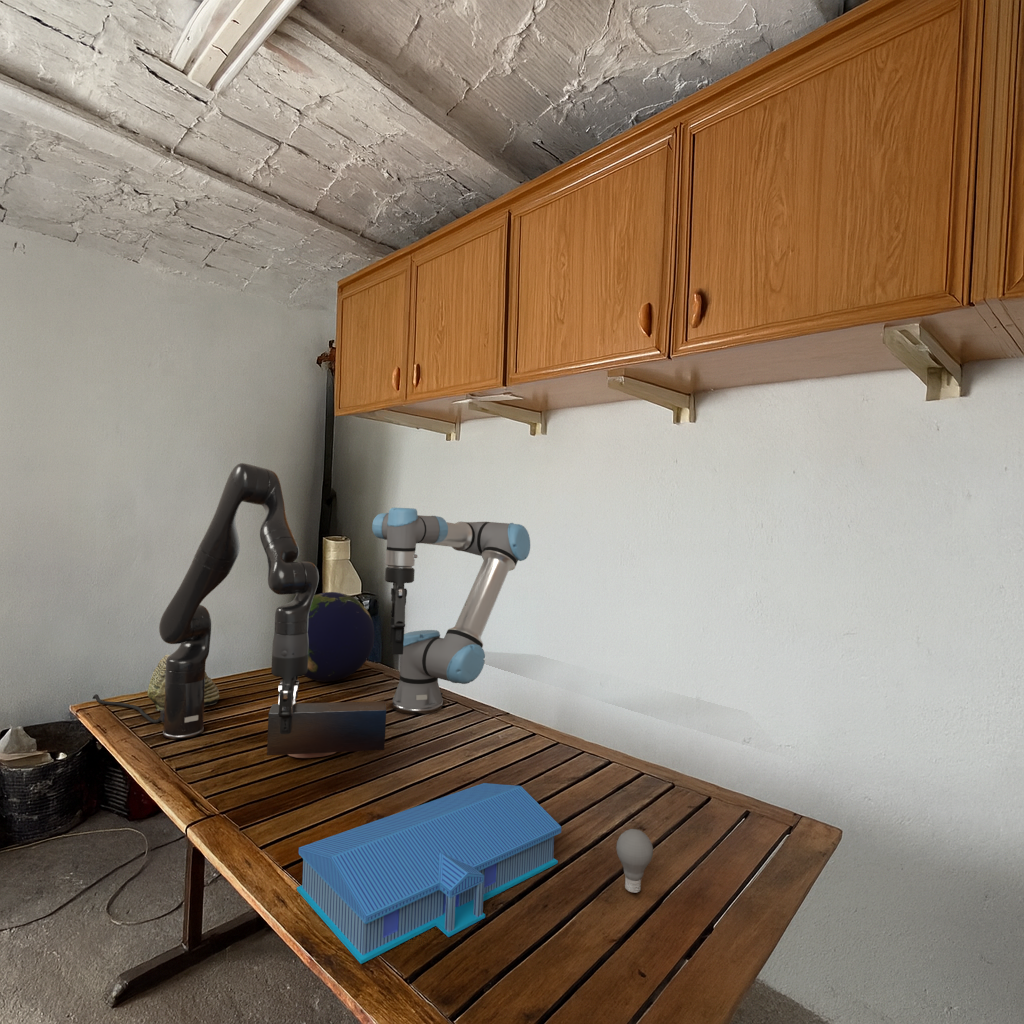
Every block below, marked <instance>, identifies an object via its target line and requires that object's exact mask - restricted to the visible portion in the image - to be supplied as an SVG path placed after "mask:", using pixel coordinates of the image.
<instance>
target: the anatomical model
mask: <svg viewBox="0 0 1024 1024" xmlns="http://www.w3.org/2000/svg"><path fill="white" fill-rule="evenodd" d="M336 753H337V752H331V753H309V754H286V755H287V756H289V757H292V758H296V759H311V758H312V759H313V758H321V757H326V756H330V755H334V754H336Z"/></svg>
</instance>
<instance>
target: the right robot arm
mask: <svg viewBox="0 0 1024 1024" xmlns="http://www.w3.org/2000/svg"><path fill="white" fill-rule="evenodd" d="M371 530H372V533H373V535H374V536H375V537H376V538H378V539H380V540H384V541H386V549H385V563H384V565H386V567H385V570H384V581H385V582H387V583H389V584H392V587H391V588H390V595H391V597H390V598H391V610H390V617H391V618H390V631H389V634H390V635H389V643H391V655H399V679H398V680H399V681H398V684H397V687H396V690H395V693H394V695H393V697H392V705H391V706H392V709H393V710H394V711H395V712H398V713H401V714H406V715H415V716H416V715H417V716H418V715H428V714H433V713H437V712H439V711H441V710H442V709H443V705H444V699H443V694H444V693H443V692H441V688H440V684H439V679H440V680H444V681H447V682H450V683H453V684H462V685H466V684H467V685H468V684H470V683H472V682H475V680H476V679H477V678H478V677H479V676H480V674H481V673H482V671H483V668H484V666H485V661H486V660H485V658H486V654H485V650H484V648H483V647H484V643H483V640H482V636H483V634H484V631H485V629H486V626H487V624H488V622H489V619H490V617H491V614H492V612H493V610H494V607H495V605H496V602H497V600H498V597H499V595H500V593H501V591H502V588H503V585H504V583H505V581H506V578H507V576H508V573H509V572H511V571H513V570H515V569H516V566H517V564H518V562H523V561H525V560H526V559H528V556H529V555H530V553H531V538H530V534H529V531H528V529H527V527H525V526H524V525H522V524H520V523H514V522H509V523H508V522H497V521H495V522H494V521H457V522H454V523H453V522H447V520H445V518H444V517H441V516H438V515H419V514H418V509H416V508H411V507H391V508H390V509H389V510H388V512H382V513H378V514H377V515H376V516H375V517H374V518H373V521H372V526H371ZM417 544H424V545H433V546H441V547H451V548H452V549H453V550H455V551H458V552H464V553H468V554H472V555H476V556H480V557H481V558H482V563H481V565H480V568H479V571H478V572H477V575H476V577H475V579H474V582H473V584H472V586H471V589H470V590H469V593H468V596H467V598H466V600H465V601H464V605H463V607H462V609H461V611H460V613H459V616H458V617H457V620H456V622H455V625H454V626H453V627H451V628H450V627H449V628H448V629H447V630H446V633H445V635H444V637H441V634H440V631H439V630H436V629H423V630H414V631H413V630H412V631H409V632H406V633H405V627H406V605H407V596H408V589H407V588H406V587H405V584H411V583H414V581H415V568H414V566H415V565H416V559H418V554H416V550H417Z"/></svg>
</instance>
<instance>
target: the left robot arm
mask: <svg viewBox="0 0 1024 1024" xmlns="http://www.w3.org/2000/svg"><path fill="white" fill-rule="evenodd" d="M243 502H244V503H248V504H251V505H252V504H253V505H256V506H257V505H258V506H261V507H262V508H263V509H264V511H265V513H266V515H265V516H264V519H263V521H262V523H261V525H260V528H259V538H260V543H261V545H262V548H263V551H264V553H265V556H266V561H267V585H268V588H269V589H270V590H271V592H272V593H274V594H276V595H278V596H279V595H280V596H281V595H295V597H294V598H293V600H292V601H290V602H287V603H284V604H281V605H279V606H277V607H276V609H275V611H274V629H273V632H274V633H273V639H272V646H271V647H272V649H271V671H270V673H271V674H272V675H273V676H274V677H277V678H281V679H282V680H280V681H279V683H278V703H277V704H279V713H278V715H279V717H281V719H280V733H281V734H290V733H291V721H292V715H293V712H292V710H293V706H294V705H295V704H297V699H298V695H299V687H300V680H299V679H298V678H299V677H303V676H304V674H306V673H307V670H308V647H309V639H308V619H309V611H310V607H311V604H312V600H313V597H314V595H316V591H317V588H318V585H319V580H320V575H319V569H318V567H317V566H316V565H315V564H314V563H313V562H311V561H304V560H303V561H297V559H298V557H299V555H300V548H299V545H298V543H297V539H296V538H295V536H294V533H293V531H292V529H291V527H290V523H289V520H288V516H287V511H286V510H287V509H286V505H285V499H284V495H283V490H282V485H281V482H280V478H279V477H278V475H277V473H276V472H275V471H273V470H271V469H268V468H265V467H260V466H257V465H253V464H249V463H246V462H245V463H244V462H241V463H237V464H236V465H234V467H233V468H232V470H231V471H230V473H229V475H228V477H227V479H226V482H225V485H224V487H223V490H222V493H221V495H220V498H219V501H218V503H217V507H216V509H215V512H214V514H213V517H212V518H211V521H210V524H209V526H208V528H207V529H206V532H205V534H204V536H203V538H202V540H201V542H200V543H199V546H198V548H197V550H196V552H195V554H194V556H193V559H192V561H191V563H190V566H189V567H188V569H187V571H186V573H185V575H184V577H183V579H182V581H181V583H180V585H179V587H178V589H177V590H176V592H175V594H174V595H173V597H172V598H171V600H170V602H169V603H168V605H167V606H166V607H165V610H164V611H163V613H162V615H161V618H160V621H159V625H158V632H159V636H160V638H161V640H162V641H163V642H164V643H166V644H169V645H179V646H178V648H177V649H176V650H175V651H174V652H173V653H170V654H169V655H170V656H169V657H168V658H167V660H166V674H165V705H164V710H162V711H160V712H159V713H160V714H159V715H160V716H159V718H158V719H154V718H152V717H150V716H149V715H148V714H147V713H146V712H145V711H144V710H143V708H141V707H139V706H137V705H133V704H129V703H124V702H119V701H118V702H117V701H107V700H102V699H101V698H100V696H99V694H94V695H93V696H92V700H96V702H97V703H98V704H101V705H106V706H107V705H108V706H117V707H124V708H128V709H129V708H130V709H133V710H136V711H137V712H139V713H140V715H141V716H142V717H143V718H145V719H146V720H147V721H148V722H149V723H153V724H158V723H161V722H162V723H163V730H162V737H164V738H166V739H169V740H185V739H190V738H191V739H192V738H194V737H197V736H199V735H202V734H203V732H204V730H205V729H204V726H205V725H204V722H205V721H204V718H205V706H204V693H205V672H206V664H207V663H206V662H207V659H208V657H209V653H210V647H211V636H212V617H211V614H210V612H209V610H208V609H207V608H206V606H205V605H202V604H201V603H202V602H203V601H204V600H205V598H207V596H208V595H210V593H212V592H213V591H214V590H215V589H216V588H217V587H218V586H219V585H220V584H221V583H222V582H224V580H226V578H227V577H228V576H229V574H231V573H230V572H231V571H232V570H233V567H234V565H235V564H236V561H237V559H238V557H239V555H240V551H241V544H240V543H241V542H240V537H239V534H238V529H237V525H236V524H237V523H236V522H237V521H236V518H237V514H238V510H239V508H240V505H242V503H243ZM287 706H288V707H289V711H283V707H287Z"/></svg>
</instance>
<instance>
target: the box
mask: <svg viewBox="0 0 1024 1024" xmlns="http://www.w3.org/2000/svg"><path fill="white" fill-rule="evenodd" d="M283 711H289V707H288V706H287V707H283ZM292 712H293V715H292V721H291V733H290V734H281V733H280V719H281V717H279V715H278V713H279V704H278V703H272V705H271V707H270V709H269V711H268V717H267V719H268V720H267V741H266V742H267V743H266V744H267V745H266V756H283V755H284V756H285V755H287V754H309V753H331V752H336V753H349V752H350V753H353V752H374V751H375V752H377V751H385V749H386V730H387V729H386V726H387V704H386V701H385V700H380V701H343V702H342V701H340V702H338V701H337V702H305V703H304V702H303V703H302V702H301V703H300V702H299V703H298V702H297V703H296V704H295V705H294V706H293V710H292Z"/></svg>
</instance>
